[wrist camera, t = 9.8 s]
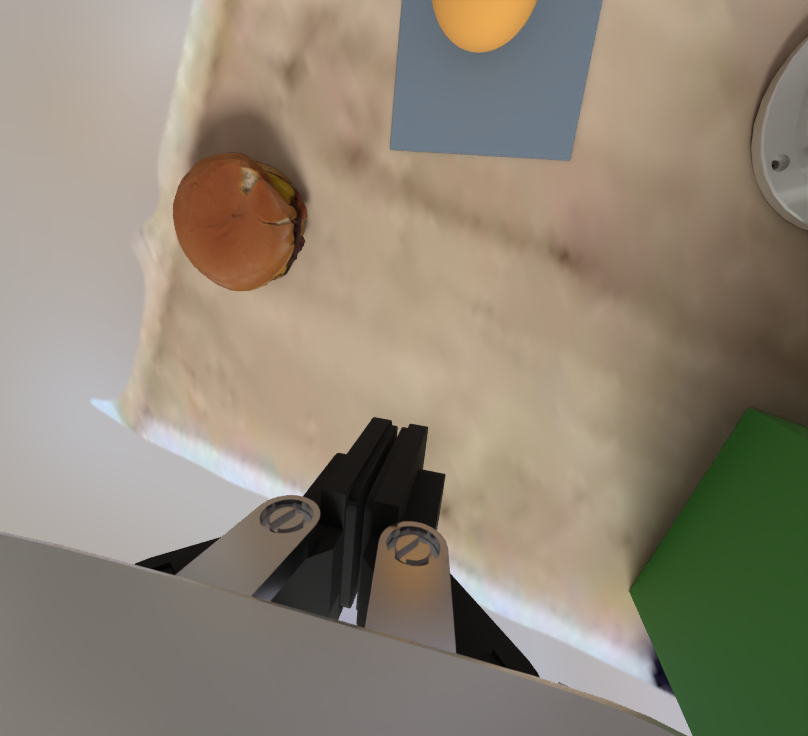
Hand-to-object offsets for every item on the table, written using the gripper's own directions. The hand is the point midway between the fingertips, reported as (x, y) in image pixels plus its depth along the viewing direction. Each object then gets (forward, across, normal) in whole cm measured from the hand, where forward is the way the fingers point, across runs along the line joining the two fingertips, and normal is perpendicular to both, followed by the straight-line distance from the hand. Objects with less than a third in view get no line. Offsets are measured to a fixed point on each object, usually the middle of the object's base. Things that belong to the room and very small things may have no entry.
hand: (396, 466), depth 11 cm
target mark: (+19, 0, -19) cm, 27 cm away
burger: (+20, +17, -7) cm, 27 cm away
